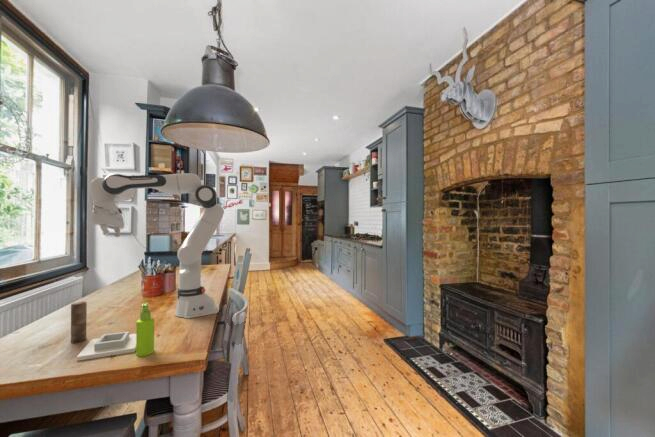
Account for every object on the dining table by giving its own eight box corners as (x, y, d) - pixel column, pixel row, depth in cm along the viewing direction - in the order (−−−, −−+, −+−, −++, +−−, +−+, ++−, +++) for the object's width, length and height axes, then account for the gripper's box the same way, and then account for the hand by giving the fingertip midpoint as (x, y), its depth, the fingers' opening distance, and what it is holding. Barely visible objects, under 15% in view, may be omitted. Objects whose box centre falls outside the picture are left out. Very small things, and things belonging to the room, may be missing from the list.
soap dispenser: (134, 359, 106) (135, 306, 106) (137, 351, 112) (137, 301, 112) (153, 355, 109) (153, 304, 109) (154, 348, 115) (154, 299, 115)
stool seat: (142, 335, 126) (142, 327, 126) (134, 351, 112) (134, 341, 112) (92, 342, 119) (92, 333, 119) (76, 360, 104) (76, 350, 104)
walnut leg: (88, 337, 125) (88, 300, 124) (83, 341, 120) (84, 304, 120) (73, 339, 123) (73, 302, 122) (68, 343, 118) (68, 305, 118)
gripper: (100, 202, 131) (107, 230, 129) (123, 211, 151) (129, 236, 149) (85, 206, 130) (91, 234, 128) (110, 215, 149) (116, 239, 148)
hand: (112, 235), depth 139 cm, fingers open, 8 cm apart
